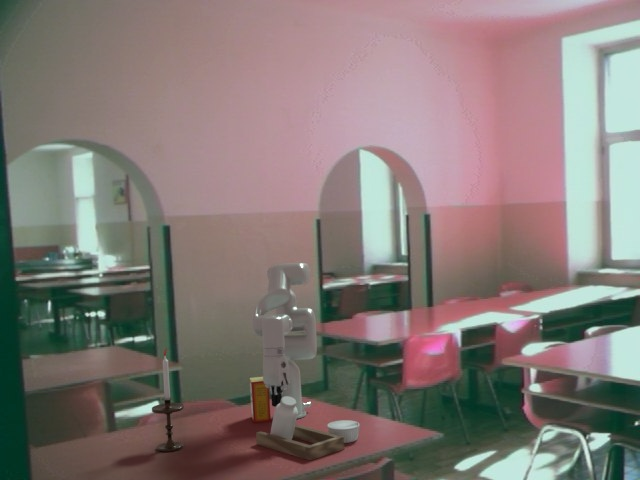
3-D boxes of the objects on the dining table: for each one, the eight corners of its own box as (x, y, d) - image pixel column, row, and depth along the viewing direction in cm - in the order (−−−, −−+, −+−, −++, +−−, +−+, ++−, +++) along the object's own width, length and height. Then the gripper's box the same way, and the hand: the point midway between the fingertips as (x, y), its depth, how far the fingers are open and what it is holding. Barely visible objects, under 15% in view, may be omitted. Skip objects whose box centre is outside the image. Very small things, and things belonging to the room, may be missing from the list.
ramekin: (357, 444, 238) (356, 428, 238) (325, 444, 241) (324, 428, 240) (362, 435, 249) (361, 419, 249) (331, 434, 251) (330, 420, 251)
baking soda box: (251, 417, 283) (249, 376, 282) (268, 415, 284) (265, 375, 284) (253, 423, 273) (251, 381, 273) (270, 421, 274) (268, 379, 274)
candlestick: (191, 443, 250) (185, 344, 250) (177, 453, 239) (171, 349, 239) (163, 443, 253) (157, 344, 252) (148, 452, 242) (142, 350, 242)
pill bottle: (294, 432, 250) (301, 396, 245) (290, 446, 243) (298, 409, 237) (272, 427, 250) (278, 391, 245) (267, 441, 243) (274, 404, 238)
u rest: (290, 434, 255) (289, 423, 255) (344, 448, 234) (343, 436, 234) (256, 444, 245) (256, 432, 245) (310, 460, 224) (309, 447, 224)
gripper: (296, 352, 243) (299, 406, 243) (270, 350, 254) (272, 401, 254) (278, 355, 238) (281, 410, 238) (252, 352, 250) (255, 405, 249)
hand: (276, 405), depth 246 cm, fingers closed
